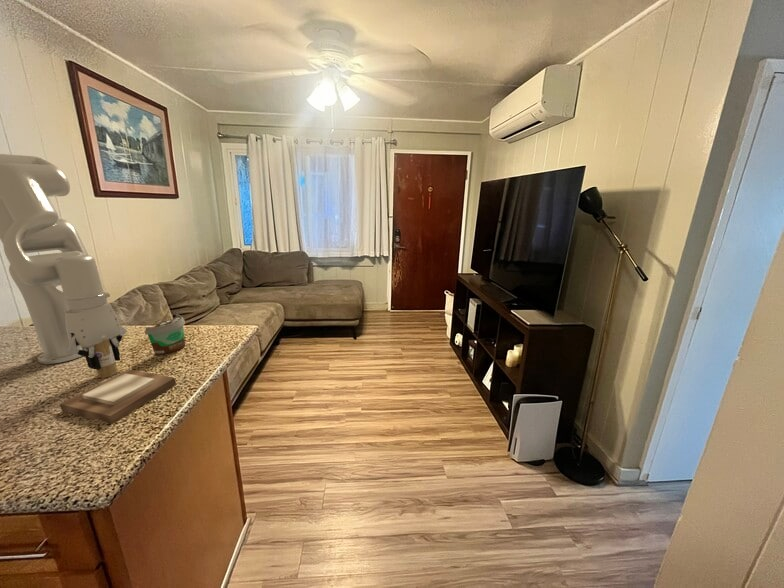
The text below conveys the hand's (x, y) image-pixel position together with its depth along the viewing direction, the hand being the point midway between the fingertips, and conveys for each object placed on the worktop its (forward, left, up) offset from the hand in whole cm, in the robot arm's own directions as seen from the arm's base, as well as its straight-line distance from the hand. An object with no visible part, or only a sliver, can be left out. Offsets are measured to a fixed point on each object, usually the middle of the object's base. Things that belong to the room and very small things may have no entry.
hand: (105, 363), depth 90 cm
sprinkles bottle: (0, 0, -4) cm, 4 cm away
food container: (+5, +17, -4) cm, 18 cm away
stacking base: (+15, -7, -3) cm, 17 cm away
